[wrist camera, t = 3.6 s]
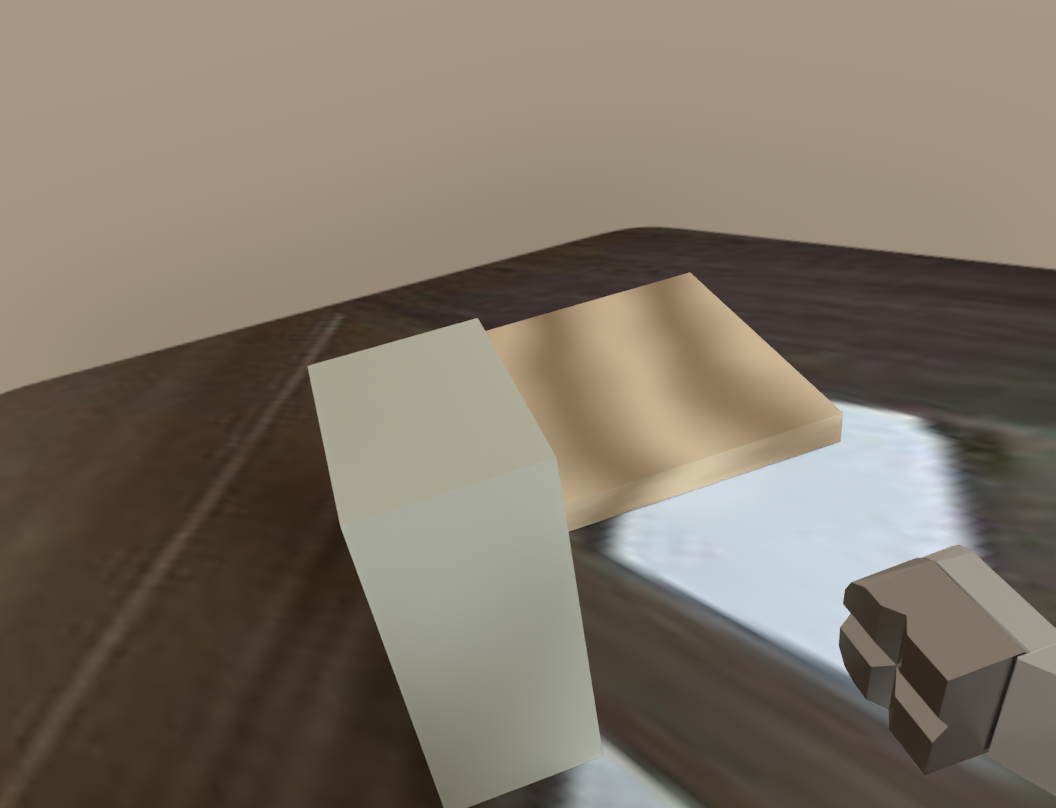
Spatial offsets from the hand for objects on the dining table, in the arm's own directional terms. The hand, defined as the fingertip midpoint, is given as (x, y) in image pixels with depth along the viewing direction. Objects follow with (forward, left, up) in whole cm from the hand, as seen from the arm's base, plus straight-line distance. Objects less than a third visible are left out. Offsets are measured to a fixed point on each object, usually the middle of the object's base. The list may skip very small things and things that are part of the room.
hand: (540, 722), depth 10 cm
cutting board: (-8, -25, -16) cm, 31 cm away
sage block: (0, -12, -16) cm, 20 cm away
